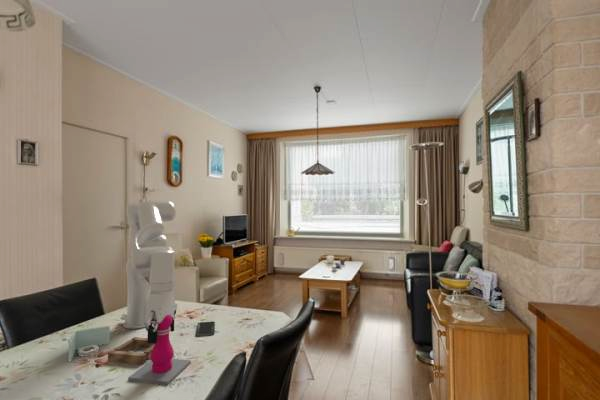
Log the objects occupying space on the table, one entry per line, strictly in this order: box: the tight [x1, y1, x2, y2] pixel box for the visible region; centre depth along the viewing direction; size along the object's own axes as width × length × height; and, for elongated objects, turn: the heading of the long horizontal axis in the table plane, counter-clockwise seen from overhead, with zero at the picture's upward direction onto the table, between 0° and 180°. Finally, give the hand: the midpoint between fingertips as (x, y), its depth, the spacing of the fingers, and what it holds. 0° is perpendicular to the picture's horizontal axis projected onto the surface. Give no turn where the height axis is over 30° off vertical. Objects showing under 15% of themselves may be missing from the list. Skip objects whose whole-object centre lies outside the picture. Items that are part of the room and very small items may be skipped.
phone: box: [195, 320, 216, 338], centre depth 145 cm, size 8×1×15 cm
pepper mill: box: [150, 315, 175, 373], centre depth 108 cm, size 7×7×20 cm
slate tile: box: [127, 358, 192, 386], centre depth 108 cm, size 14×14×1 cm
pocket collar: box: [107, 336, 155, 366], centre depth 120 cm, size 14×14×3 cm
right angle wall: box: [68, 325, 111, 362], centre depth 122 cm, size 12×12×8 cm
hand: (161, 336), depth 108 cm, fingers open, 9 cm apart
